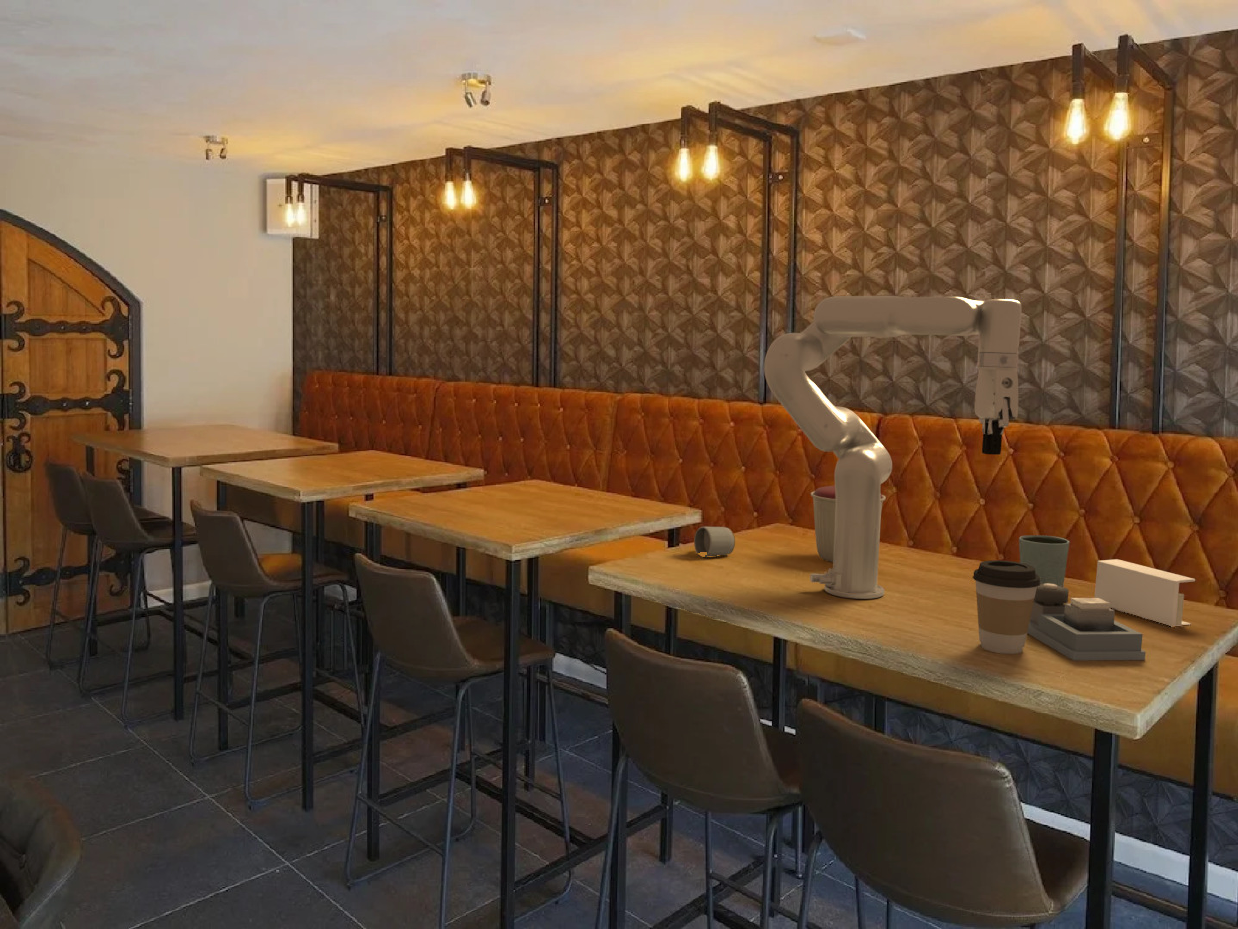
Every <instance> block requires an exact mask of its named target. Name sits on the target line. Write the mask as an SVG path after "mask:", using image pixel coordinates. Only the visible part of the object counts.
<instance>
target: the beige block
mask: <svg viewBox="0 0 1238 929" xmlns="http://www.w3.org/2000/svg"><path fill="white" fill-rule="evenodd" d="M1064 604H1065V611H1064V623H1065V624H1067V625H1069V626H1070V627H1072V628H1074V629H1076V630H1078V631H1080V632H1113V629H1114V620H1115V616H1116V610H1115V609H1111V608H1109V607H1110V603H1108V602H1106V601H1104V600H1102V599H1100V598H1095V597H1071V598H1070V603H1068V602H1067V603H1064Z"/></svg>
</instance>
